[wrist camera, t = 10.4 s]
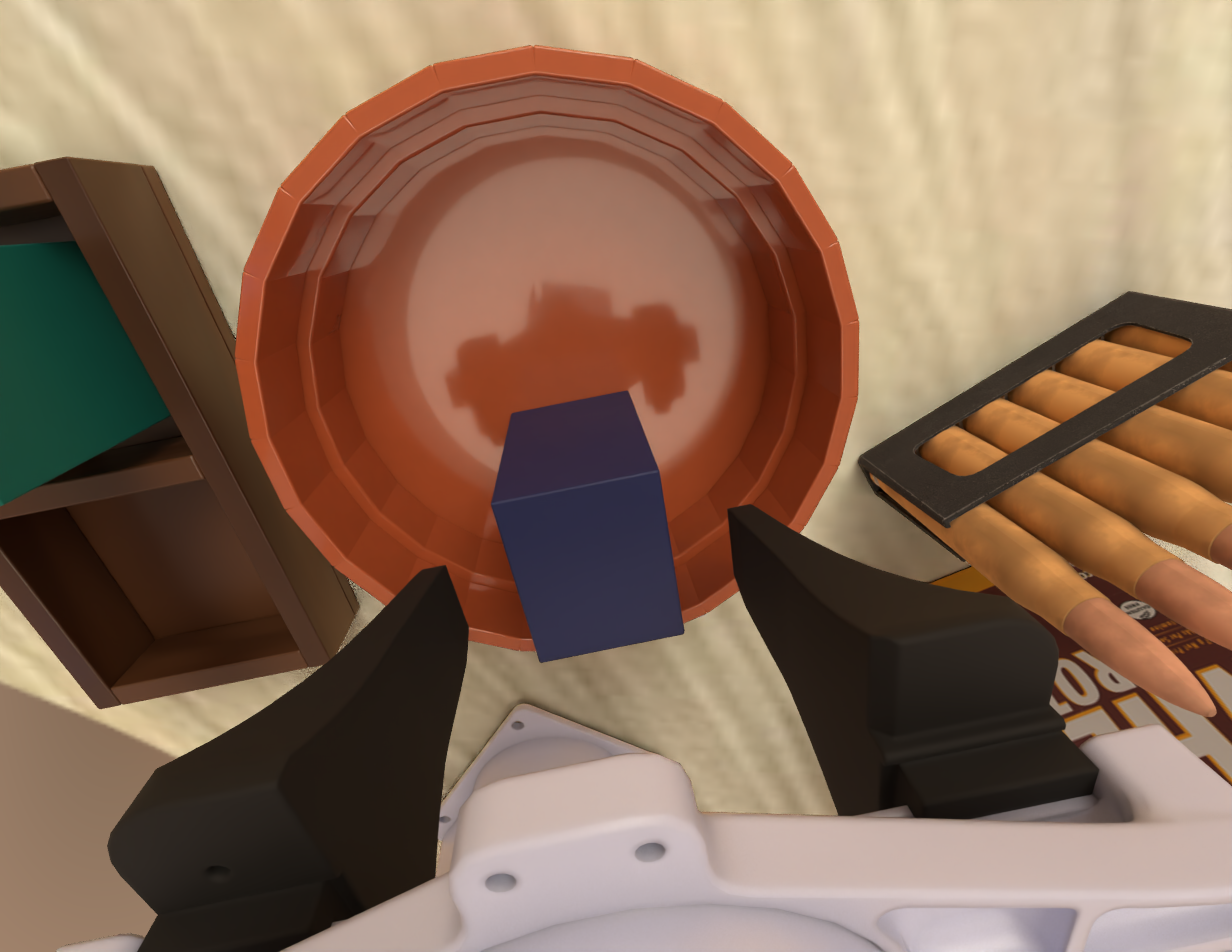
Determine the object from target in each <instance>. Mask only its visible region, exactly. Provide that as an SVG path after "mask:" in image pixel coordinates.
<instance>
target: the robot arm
mask: <svg viewBox="0 0 1232 952" xmlns="http://www.w3.org/2000/svg"><path fill="white" fill-rule="evenodd" d="M727 513H728V523H729V533H730V543H731V552H732V562H733V572H734V577H735V579H736V582H737V585H738V588H739V590H740V593H741V596H742V598H743V601H744V603H745V606H746V608H747V610H748V612H749V614H750V616H751V618H752V620H753V622H754V623H755V625H756V627H757V629H758V631H759V633H760V635H761V637H762V638H763V640H764V642H765V644H766V646H767V648H768V649H769V651H770V653H771V655H772V657H773V659H774V660H775V662H776V664H777V666H778V668H779V670H780V672H781V673H782V675H783V677H784V679H785V681H786V683H787V685H788V688H789V690H790V692H791V694H792V696H793V699H794V701H795V704H796V706H797V709H798V711H799V714H800V716H801V718H802V721H803V723H804V726H805V728H806V731H807V733H808V736H809V738H810V741H811V744H812V746H813V749H814V751H815V754H816V756H817V759H818V761H819V764H820V767H821V769H822V772H823V775H824V777H825V780H826V783H827V785H828V788H829V791H830V793H831V796H832V799H833V801H834V804H835V807H836V809H837V812H838V815H839V816H832V815H797V814H763V813H728V812H700V811H699V810H698V809H697V805H696V800H695V796H694V792H693V787H692V783H691V780H690V778H689V777H688V775H687V774H686V772H685V770H684V769H683V767H682V766H681V764H680V763H678V762H675V761H673V760H670V759H668V758H666V757H663V756H661V755H659V754H656V753H651V752H649V751H646V750H644V749H641V748H638V747H636V746H633V745H631V744H628V743H626V742H623V741H621V740H618V739H616V738H613V737H611V736H608V735H605V734H603V733H600V732H598V731H595V730H593V729H590V728H588V727H585V726H583V725H580V724H578V723H575V722H573V721H570V720H567V719H565V718H562V717H560V716H557V715H555V714H552V713H550V712H547V711H545V710H542V709H540V708H537V707H534V706H532V705H529V704H519V705H517V706H516V707H515V708H514V709H513V710H512V711H511V713H510V714H509V715H508V716H507V718H506V719H505V720H504V722H503V723H502V724H501V726H500V727H499V728H498V730H497V731H496V732H495V734H494V735H493V736H492V737H491V739H490V740H489V741H488V743H487V744H486V745H485V747H484V748H483V749H482V751H481V752H480V753H479V755H478V756H477V757H476V758H475V760H474V761H473V762H472V764H471V765H470V766H469V768H468V769H467V770H466V772H465V773H464V774H463V776H462V777H461V778H460V779H459V781H458V782H457V783H456V785H455V786H454V787H453V789H452V790H451V791H450V793H449V794H448V795H447V797H446V798H445V799H444V800H443V802H442V803H441V798H442V789H443V780H444V771H445V762H446V756H447V751H448V745H449V740H450V736H451V732H452V727H453V723H454V718H455V714H456V709H457V705H458V701H459V696H460V692H461V687H462V682H463V678H464V673H465V668H466V663H467V652H468V638H469V626H468V623H467V621H466V618H465V615H464V613H463V610H462V607H461V605H460V602H459V599H458V596H457V594H456V591H455V588H454V586H453V583H452V580H451V578H450V575H449V572H448V569H447V567H446V565H442V566H437V567H432V568H427V569H422V570H421V571H420V572H419V573H417V574H416V575H415V576H414V577H413V578H412V579H411V580H410V581H409V582H408V583H407V585H406V586H405V587H404V588H403V589H402V590H401V591H400V592H399V593H398V594H397V595H396V596H395V597H394V598H393V599H392V600H391V601H390V603H389V604H388V605H387V606H386V607H385V608H384V609H383V610H382V611H381V612H380V613H379V614H378V615H377V616H376V617H375V618H374V619H373V620H372V621H371V622H370V623H369V624H368V625H367V626H366V627H365V628H364V629H363V630H362V631H361V632H360V633H359V634H358V635H357V636H356V637H355V638H353V639H352V640H351V641H350V642H349V643H348V644H347V645H346V646H345V647H344V648H343V649H342V650H341V651H340V652H338V653H337V654H336V655H335V656H334V657H333V658H332V659H330V660H329V661H328V662H327V663H326V664H324V665H323V666H322V667H321V668H319V669H318V670H317V671H316V672H314V673H313V674H312V675H311V676H309V677H308V678H307V679H305V680H304V681H303V682H301V683H300V684H299V685H297V686H296V687H294V688H293V689H292V690H290V691H289V692H287V693H286V694H284V695H283V696H282V697H280V698H279V699H277V700H276V701H275V702H273V703H272V704H270V705H269V706H267V707H266V708H264V709H263V710H261V711H260V712H258V713H257V714H255V715H253V716H252V717H250V718H249V719H247V720H245V721H244V722H242V723H240V724H239V725H237V726H235V727H234V728H232V729H230V730H229V731H227V732H225V733H224V734H222V735H220V736H218V737H217V738H215V739H213V740H211V741H209V742H208V743H206V744H204V745H202V746H200V747H198V748H196V749H194V750H192V751H190V752H188V753H187V754H185V755H183V756H181V757H179V758H177V759H175V760H173V761H172V762H169V763H167V764H165V765H163V766H161V767H159V768H157V769H156V770H155V771H154V773H153V774H152V776H151V777H150V779H149V780H148V781H147V783H146V784H145V786H144V787H143V788H142V790H141V791H140V793H139V794H138V795H137V797H136V798H135V800H134V801H133V803H132V804H131V805H130V807H129V808H128V810H127V811H126V812H125V814H124V815H123V816H122V818H121V819H120V821H119V822H118V824H117V825H116V826H115V828H114V829H113V831H112V832H111V834H110V838H109V841H108V845H107V847H108V851H109V856H110V860H111V862H112V864H113V865H114V867H115V869H116V870H117V871H118V873H119V874H120V876H121V877H122V878H123V879H124V880H125V881H126V882H127V883H128V884H129V885H130V886H131V887H132V888H133V889H134V890H135V891H136V893H137V894H138V895H139V896H140V897H141V898H142V899H143V900H144V901H145V902H146V903H147V904H148V905H149V906H150V907H151V908H152V909H153V910H154V911H155V912H156V913H157V914H158V916H157V917H156V919H155V921H154V923H153V925H152V926H151V928H150V930H149V932H148V934H147V935H146V937H143V936H140V935H136V934H118V935H113V936H108V937H103V938H99V939H94V940H89V941H84V942H79V943H74V944H69V945H65V946H63V947H61V948H59V949H57V951H56V952H1232V786H1231V785H1230V784H1229V783H1227V782H1226V781H1225V780H1224V779H1223V778H1222V777H1220V776H1219V775H1218V774H1217V773H1216V772H1215V771H1213V770H1212V769H1211V768H1210V767H1209V766H1208V765H1206V764H1205V763H1204V762H1203V761H1202V760H1201V759H1199V758H1198V757H1197V756H1196V755H1195V754H1194V753H1192V752H1191V751H1190V750H1189V749H1188V748H1187V747H1185V746H1184V745H1183V744H1182V743H1181V742H1180V741H1178V740H1177V739H1176V738H1175V737H1174V736H1173V735H1172V734H1170V733H1169V732H1168V731H1167V730H1166V729H1165V728H1163V727H1162V726H1161V725H1159V724H1149V725H1144V726H1140V727H1135V728H1130V729H1125V730H1120V731H1115V732H1110V733H1105V734H1100V735H1097V736H1094V737H1092V738H1089V739H1088V740H1086V741H1085V742H1084V743H1082V744H1081V745H1080V747H1079V748H1078V747H1077V746H1076V745H1075V744H1074V743H1073V742H1072V741H1071V740H1070V739H1069V738H1068V737H1067V735H1066V734H1065V733H1064V732H1063V731H1062V730H1065V728H1066V723H1065V720H1064V718H1063V717H1062V716H1061V715H1060V714H1059V713H1058V712H1057V711H1056V710H1055V709H1054V708H1053V707H1052V706H1051V705H1050V699H1051V695H1052V690H1053V686H1054V681H1055V677H1056V673H1057V668H1058V660H1059V649H1058V646H1057V643H1056V640H1055V637H1054V636H1053V635H1052V634H1051V633H1050V632H1049V631H1048V630H1047V629H1046V628H1045V627H1044V626H1043V625H1042V624H1041V623H1039V622H1038V621H1037V620H1036V619H1035V618H1034V617H1033V616H1031V615H1030V614H1029V613H1028V612H1027V611H1026V610H1024V609H1023V608H1022V607H1021V606H1020V605H1018V604H1017V603H1016V602H1015V601H1013V600H1012V599H1011V598H1009V597H1006V596H999V595H992V594H985V593H978V592H970V591H963V590H957V589H952V588H948V587H943V586H938V585H933V584H928V583H924V582H920V581H916V580H912V579H909V578H905V577H902V576H898V575H895V574H892V573H888V572H885V571H882V570H879V569H876V568H873V567H870V566H868V565H865V564H863V563H860V562H858V561H855V560H852V559H850V558H847V557H845V556H843V555H841V554H838V553H836V552H834V551H832V550H830V549H828V548H826V547H824V546H822V545H820V544H818V543H816V542H814V541H812V540H810V539H808V538H806V537H805V536H803V535H801V534H799V533H798V532H796V531H794V530H792V529H791V528H789V527H787V526H786V525H784V524H782V523H781V522H779V521H778V520H776V519H774V518H773V517H771V516H770V515H768V514H766V513H765V512H763V511H762V510H760V509H759V508H757V507H755V506H754V505H752V504H748V505H743V506H738V507H733V508H728V509H727ZM517 721H519V722H520V723H517ZM438 840H441V841H442V844H441V849H440V855H439V860H438V866H437V871H436V857H437V842H438ZM435 873H436V877H435Z"/></svg>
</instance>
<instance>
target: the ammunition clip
mask: <svg viewBox="0 0 1232 952" xmlns="http://www.w3.org/2000/svg"><path fill="white" fill-rule="evenodd" d="M858 463H859V465H860V467H861V469H862V470H863V472H864V474H865V476H866V478H867V480H868V482H869V484H870V486H871V487H872V489H873V491H874V493H875V494H876V495H877V496H878V497H880V498H881V499H882V500H884V501H885V502H886V503H887V504H889V505H890V506H891V507H893V508H894V509H895V510H897V511H898V512H899V513H900V514H902V515H903V516H904V517H906V518H907V519H908V520H909V521H911V522H912V523H913V524H915V525H916V526H917V527H918V528H920V529H921V530H922V531H924V532H925V533H926V534H928V535H929V536H930V537H931V538H933V539H934V540H935V541H937V542H938V543H939V544H940V545H942V546H943V547H944V548H946V549H947V550H948V551H950V552H951V553H952V554H953V555H955V556H956V557H957V558H959V559H960V560H961V561H963V562H965V561H967V562H968V563H969V564H971V565H972V566H973V567H974V568H975V569H976V570H978V571H979V572H980V573H981V574H982V575H983V576H985V577H986V578H987V579H988V580H989V581H991V582H992V583H993V584H994V585H995V586H996V587H998V588H999V589H1000V590H1001V591H1002V592H1004V593H1005V594H1006V595H1007V596H1008V597H1009V598H1011V599H1012V600H1013V601H1015V602H1016V603H1018V604H1020V605H1021V606H1023V607H1025V608H1027V609H1028V610H1030V611H1032V612H1034V613H1036V614H1037V615H1039V616H1041V617H1042V618H1044V619H1045V620H1046V621H1048V622H1049V623H1050V624H1051V625H1053V626H1054V627H1055V628H1057V629H1058V630H1059V631H1061V632H1062V633H1063V634H1064V635H1066V636H1068V637H1070V638H1072V639H1073V640H1074V641H1075V642H1077V643H1078V644H1079V645H1080V646H1081V647H1083V648H1084V649H1085V650H1086V651H1088V652H1089V653H1090V654H1091V655H1093V656H1094V657H1095V658H1097V659H1098V660H1099V661H1101V662H1102V663H1104V664H1105V665H1107V666H1108V667H1110V668H1111V669H1112V670H1114V671H1115V672H1117V673H1118V674H1120V675H1121V676H1123V677H1124V678H1126V679H1128V680H1129V681H1131V682H1132V683H1134V684H1136V685H1138V686H1139V687H1141V688H1143V689H1144V690H1146V691H1148V692H1150V693H1152V694H1154V695H1156V696H1158V697H1159V698H1161V699H1163V700H1165V701H1167V702H1169V703H1171V704H1173V705H1176V706H1178V707H1180V708H1183V709H1185V710H1188V711H1190V712H1193V713H1196V714H1199V715H1202V716H1205V717H1213V716H1215V715H1216V713H1217V712H1216V708H1215V706H1214V704H1213V702H1212V700H1211V699H1210V697H1209V695H1208V694H1207V692H1206V691H1205V689H1204V688H1203V687H1202V685H1201V684H1200V683H1199V681H1198V680H1197V679H1196V678H1195V677H1194V676H1193V674H1192V673H1191V672H1190V671H1189V670H1188V669H1187V667H1186V666H1185V665H1184V664H1183V663H1182V662H1181V661H1180V660H1179V659H1178V658H1177V657H1176V656H1175V655H1174V654H1173V653H1172V652H1171V651H1170V650H1169V649H1168V648H1167V647H1166V646H1165V645H1164V644H1163V643H1162V642H1161V641H1160V640H1158V639H1157V638H1156V637H1155V636H1154V635H1153V634H1152V633H1150V632H1149V631H1148V630H1147V629H1146V628H1145V627H1144V626H1142V625H1141V624H1140V623H1139V622H1137V621H1136V620H1135V619H1133V618H1132V617H1131V616H1129V615H1128V614H1127V613H1125V612H1124V611H1123V610H1121V609H1120V608H1118V607H1117V606H1116V605H1114V604H1113V603H1112V602H1111V601H1110V599H1109V598H1107V597H1106V596H1105V595H1103V594H1102V593H1101V592H1100V591H1098V590H1097V589H1096V588H1094V587H1093V586H1092V585H1091V584H1089V583H1088V582H1087V581H1085V580H1084V579H1083V578H1082V577H1081V576H1080V575H1079V573H1078V572H1077V571H1076V570H1075V569H1074V568H1073V567H1072V566H1071V565H1070V564H1069V563H1071V564H1072V565H1074V566H1076V567H1077V568H1079V569H1081V570H1083V571H1086V572H1088V573H1090V574H1092V575H1094V576H1097V577H1099V578H1101V579H1104V580H1106V581H1108V582H1110V583H1112V584H1113V585H1115V586H1116V587H1118V588H1120V589H1121V590H1123V591H1125V592H1126V593H1128V594H1129V595H1131V596H1133V597H1134V598H1136V599H1138V600H1140V601H1142V602H1145V603H1146V604H1148V605H1149V606H1151V607H1152V608H1154V609H1155V610H1157V611H1159V612H1160V613H1162V614H1163V615H1165V616H1166V617H1168V618H1169V619H1171V620H1173V621H1175V622H1176V623H1178V624H1180V625H1182V626H1184V627H1185V628H1187V629H1189V630H1191V631H1193V632H1195V633H1196V634H1198V635H1200V636H1202V637H1204V638H1206V639H1208V640H1210V641H1212V642H1214V643H1216V644H1218V645H1221V646H1223V647H1225V648H1227V649H1229V650H1232V592H1231V591H1229V590H1228V589H1227V588H1225V587H1224V586H1222V585H1221V584H1219V583H1218V582H1216V581H1214V580H1213V579H1211V578H1209V577H1208V576H1206V575H1204V574H1202V573H1201V572H1199V571H1197V570H1196V569H1194V568H1192V567H1190V566H1189V565H1187V564H1185V563H1184V561H1183V560H1181V559H1180V558H1178V557H1177V556H1175V555H1173V554H1172V553H1170V552H1168V551H1167V550H1165V549H1164V548H1162V547H1160V546H1159V545H1157V544H1155V543H1154V542H1153V541H1152V540H1150V539H1149V538H1148V537H1147V536H1146V535H1145V534H1147V535H1149V536H1151V537H1154V538H1157V539H1160V540H1162V541H1165V542H1168V543H1171V544H1175V545H1178V546H1181V547H1184V548H1186V549H1188V550H1190V551H1192V552H1194V553H1196V554H1198V555H1200V556H1202V557H1204V558H1206V559H1208V560H1210V561H1212V562H1214V563H1216V564H1221V565H1223V566H1225V567H1227V568H1229V569H1231V570H1232V506H1231V505H1229V504H1227V503H1225V502H1228V503H1232V309H1226V308H1221V307H1215V306H1210V305H1204V304H1198V303H1193V302H1187V301H1182V300H1176V299H1170V298H1165V297H1159V296H1154V295H1148V294H1142V293H1137V292H1127V293H1125V294H1124V295H1122V296H1121V297H1119V298H1117V299H1116V300H1114V301H1112V302H1111V303H1109V304H1107V305H1106V306H1104V307H1103V308H1101V309H1099V310H1098V311H1096V312H1094V313H1093V314H1091V315H1090V316H1088V317H1086V318H1085V319H1083V320H1081V321H1080V322H1078V323H1076V324H1075V325H1073V326H1072V327H1070V328H1068V329H1067V330H1065V331H1063V332H1062V333H1060V334H1058V335H1057V336H1055V337H1054V338H1052V339H1050V340H1049V341H1047V342H1045V343H1044V344H1042V345H1040V346H1039V347H1037V348H1036V349H1034V350H1032V351H1031V352H1029V353H1027V354H1026V355H1024V356H1023V357H1021V358H1019V359H1018V360H1016V361H1014V362H1013V363H1011V364H1009V365H1008V366H1006V367H1005V368H1003V369H1001V370H1000V371H998V372H996V373H995V374H993V375H991V376H990V377H988V378H987V379H985V380H983V381H982V382H980V383H978V384H977V385H975V386H973V387H972V388H970V389H969V390H967V391H965V392H964V393H962V394H960V395H959V396H957V397H955V398H954V399H952V400H951V401H949V402H947V403H946V404H944V405H942V406H941V407H939V408H938V409H936V410H934V411H933V412H931V413H929V414H928V415H926V416H924V417H923V418H921V419H920V420H918V421H916V422H915V423H913V424H911V425H910V426H908V427H906V428H905V429H903V430H902V431H900V432H898V433H897V434H895V435H893V436H892V437H890V438H888V439H887V440H885V441H884V442H882V443H880V444H879V445H877V446H875V447H874V448H872V449H870V450H869V451H867V452H866V453H864V454H862V455H861V456H860V459H859V461H858ZM1223 501H1225V502H1223ZM1142 532H1143V533H1145V534H1143V533H1142ZM1067 561H1068V562H1069V563H1068V562H1067Z"/></svg>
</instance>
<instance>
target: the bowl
mask: <svg viewBox="0 0 1232 952" xmlns="http://www.w3.org/2000/svg"><path fill="white" fill-rule="evenodd" d="M858 319H859V317H858V313H857V310H856V306H855V302H854V298H853V294H852V290H851V287H850V283H849V279H848V275H847V271H846V267H845V264H844V260H843V256H842V252H841V248H840V244H839V242H838V241H837V237H836V235H835V233H834V232H833V230H832V228H831V227H830V225H829V223H828V222H827V220H826V218H825V217H824V215H823V213H822V212H821V210H820V208H819V206H818V205H817V203H816V201H815V200H814V198H813V196H812V195H811V193H810V191H809V190H808V188H807V186H806V185H805V183H804V181H803V180H802V178H801V176H800V174H799V173H798V171H797V169H796V168H795V166H793V165H792V162H791V161H790V160H788V159H787V158H786V157H785V156H784V155H783V154H782V153H781V152H780V151H779V150H778V149H776V148H775V147H774V146H773V145H772V144H771V143H770V142H769V141H768V140H767V139H766V138H764V137H763V136H762V135H761V134H760V133H759V132H758V131H757V130H756V129H755V128H754V127H753V126H751V125H750V124H749V123H748V122H747V121H746V120H745V119H744V118H743V117H742V116H741V115H739V114H738V113H737V112H736V111H735V110H734V109H733V108H732V107H731V106H730V105H729V104H728V103H726V102H723V100H722V99H720V98H718V97H716V96H714V95H712V94H710V93H708V92H705V91H703V90H701V89H699V88H697V87H695V86H693V85H691V84H689V83H686V82H684V81H682V80H680V79H678V78H676V77H674V76H672V75H669V74H667V73H665V72H663V71H661V70H659V69H657V68H655V67H653V66H650V65H648V64H646V63H644V62H642V61H640V60H638V59H635V60H633V58H631V57H624V56H616V55H608V54H601V53H593V52H585V51H578V50H570V49H563V48H555V47H547V46H540V45H535V46H534V47H533V46H531V45H528V46H523V47H518V48H512V49H507V50H502V51H497V52H492V53H486V54H481V55H476V56H471V57H465V58H460V59H455V60H450V61H445V62H439V63H435V64H434V65H433V66H432V65H429V66H427V67H426V68H424V69H422V70H420V71H418V72H417V73H415V74H413V75H411V76H410V77H408V78H406V79H404V80H403V81H401V82H399V83H397V84H395V85H394V86H392V87H390V88H388V89H387V90H385V91H383V92H381V93H380V94H378V95H376V96H374V97H373V98H371V99H369V100H367V101H365V102H364V103H362V104H360V105H358V106H357V107H355V108H353V109H351V110H350V111H348V112H346V116H345V115H343V116H342V117H341V118H340V119H339V120H338V121H337V122H336V123H335V124H334V126H333V127H332V128H331V129H330V130H329V131H328V132H327V133H326V134H325V136H324V137H323V138H322V139H321V140H320V141H319V142H318V143H317V145H316V146H315V147H314V148H313V149H312V150H311V151H310V152H309V154H308V155H307V156H306V157H305V158H304V159H303V160H302V161H301V163H300V164H299V165H298V166H297V167H296V168H295V169H294V170H293V171H292V173H291V174H290V175H289V176H288V177H287V178H286V179H285V180H284V182H283V183H282V184H281V187H279V188H278V190H277V193H276V195H275V197H274V200H273V202H272V204H271V207H270V209H269V211H268V214H267V216H266V218H265V221H264V223H263V225H262V227H261V230H260V232H259V234H258V237H257V239H256V241H255V244H254V246H253V248H252V251H251V253H250V255H249V258H248V260H247V262H246V265H245V267H244V272H243V275H242V286H241V296H240V306H239V316H238V326H237V336H236V346H235V358H236V359H235V364H236V369H237V375H238V380H239V385H240V390H241V395H242V400H243V406H244V411H245V416H246V421H247V426H248V432H249V437H250V439H252V440H251V443H252V445H253V447H254V449H255V451H256V453H257V455H258V457H259V459H260V461H261V463H262V465H263V467H264V469H265V471H266V473H267V475H268V477H269V479H270V481H271V483H272V485H273V487H274V489H275V491H276V493H277V495H278V497H279V499H280V501H281V503H282V505H283V507H284V509H286V512H287V513H288V515H289V516H290V517H291V518H292V519H293V520H294V522H295V523H296V524H297V525H298V526H299V527H300V529H301V530H302V531H303V532H304V533H305V534H306V536H307V537H308V538H309V539H310V540H311V541H312V543H313V544H314V545H315V546H316V547H317V548H318V550H319V551H320V552H321V553H322V554H323V556H324V557H325V558H326V559H327V560H328V561H329V563H330V564H331V565H332V566H335V569H337V570H338V571H339V572H341V573H342V574H343V575H345V576H346V577H347V578H349V579H350V580H352V581H353V582H354V583H356V584H357V585H358V586H360V587H361V588H362V589H364V590H365V591H367V592H368V593H369V594H371V595H372V596H373V597H375V598H376V599H377V600H379V601H380V602H382V603H383V604H384V605H386V606H387V605H388V604H389V603H390V601H391V600H392V599H393V598H394V597H395V596H396V595H397V594H398V593H399V592H400V591H401V590H402V589H403V588H404V587H405V586H406V585H407V583H408V582H409V581H410V580H411V579H412V578H413V577H414V576H415V575H416V574H417V573H419V572H420V571H421V570H422V569H427V568H432V567H437V566H442V565H446V567H447V569H448V572H449V575H450V578H451V580H452V583H453V586H454V588H455V591H456V594H457V596H458V599H459V602H460V605H461V607H462V610H463V613H464V615H465V618H466V621H467V623H468V626H469V638H468V640H469V641H474V642H478V643H483V644H488V645H493V646H497V647H502V648H507V649H512V650H516V651H519V650H520V651H536V649H535V646H534V643H533V640H532V636H531V633H530V630H529V627H528V623H527V620H526V617H525V614H524V610H523V607H522V604H521V601H520V598H519V594H518V591H517V588H516V585H515V581H514V578H513V575H512V572H511V568H510V565H509V562H508V559H507V555H506V552H505V549H504V546H503V543H502V539H501V536H500V533H499V530H498V526H497V523H496V520H495V517H494V513H493V510H492V507H491V501H492V497H493V492H494V488H495V483H496V479H497V475H498V470H499V466H500V461H501V457H502V453H503V448H504V444H505V439H506V435H507V431H508V426H509V422H510V417H511V414H512V413H515V412H520V411H525V410H530V409H535V408H540V407H545V406H550V405H555V404H560V403H565V402H571V401H576V400H581V399H586V398H591V397H596V396H601V395H606V394H611V393H616V392H621V391H626V390H627V391H628V392H629V394H630V396H631V399H632V401H633V404H634V407H635V409H636V412H637V414H638V417H639V419H640V422H641V425H642V427H643V430H644V432H645V435H646V438H647V440H648V443H649V445H650V448H651V450H652V453H653V456H654V458H655V461H656V463H657V466H658V468H659V471H660V477H661V484H662V490H663V496H664V503H665V509H666V516H667V522H668V528H669V535H670V541H671V548H672V554H673V561H674V567H675V573H676V580H677V586H678V593H679V599H680V605H681V612H682V618H683V623H686V622H688V621H690V620H693V619H695V618H697V617H700V616H702V615H705V614H706V612H707V613H708V612H710V611H711V610H713V609H714V608H715V607H717V606H718V605H720V604H721V603H723V602H724V601H725V600H727V599H728V598H730V597H731V596H733V595H734V594H735V593H737V592H738V591H740V590H739V588H738V585H737V582H736V579H735V577H734V572H733V562H732V552H731V543H730V533H729V523H728V513H727V509H728V508H733V507H738V506H743V505H748V504H752V505H754V506H755V507H757V508H759V509H760V510H762V511H763V512H765V513H766V514H768V515H770V516H771V517H773V518H774V519H776V520H778V521H779V522H781V523H782V524H784V525H786V526H787V527H789V528H791V529H792V530H794V531H796V532H798V533H800V532H801V531H802V530H803V529H804V526H806V524H807V523H808V521H809V519H810V517H811V516H812V514H813V512H814V510H815V508H816V507H817V505H818V503H819V501H820V499H821V498H822V496H823V494H824V492H825V491H826V489H827V487H828V485H829V483H830V482H831V480H832V478H833V476H834V474H835V473H836V471H837V469H838V466H839V465H840V461H841V458H842V454H843V450H844V447H845V443H846V439H847V436H848V432H849V429H850V425H851V421H852V418H853V414H854V410H855V407H856V403H857V399H858V397H857V396H858V370H859V321H858Z"/></svg>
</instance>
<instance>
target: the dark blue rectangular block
mask: <svg viewBox="0 0 1232 952" xmlns="http://www.w3.org/2000/svg"><path fill="white" fill-rule="evenodd" d="M491 507H492V510H493V513H494V517H495V520H496V523H497V526H498V530H499V533H500V536H501V539H502V543H503V546H504V549H505V552H506V555H507V559H508V562H509V565H510V568H511V572H512V575H513V578H514V581H515V585H516V588H517V591H518V594H519V598H520V601H521V604H522V607H523V610H524V614H525V617H526V620H527V623H528V627H529V630H530V633H531V636H532V640H533V643H534V646H535V649H536V652H537V656H538V659H539V661H540V663H543V662H548V661H553V660H558V659H563V658H568V657H573V656H578V655H583V654H588V653H593V652H598V651H603V650H607V649H612V648H617V647H622V646H627V645H632V644H637V643H642V642H647V641H652V640H657V639H662V638H667V637H672V636H677V635H682V634H684V625H683V618H682V612H681V605H680V599H679V593H678V586H677V580H676V573H675V567H674V561H673V554H672V548H671V541H670V535H669V528H668V522H667V516H666V509H665V503H664V496H663V490H662V484H661V477H660V471H659V468H658V466H657V463H656V461H655V458H654V456H653V453H652V450H651V448H650V445H649V443H648V440H647V438H646V435H645V432H644V430H643V427H642V425H641V422H640V419H639V417H638V414H637V412H636V409H635V407H634V404H633V401H632V399H631V396H630V394H629V392H628V391H627V390H626V391H621V392H616V393H611V394H606V395H601V396H596V397H591V398H586V399H581V400H576V401H571V402H565V403H560V404H555V405H550V406H545V407H540V408H535V409H530V410H525V411H520V412H515V413H512V414H511V417H510V422H509V426H508V431H507V435H506V439H505V444H504V448H503V453H502V457H501V461H500V466H499V470H498V475H497V479H496V483H495V488H494V492H493V497H492V501H491Z"/></svg>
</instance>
